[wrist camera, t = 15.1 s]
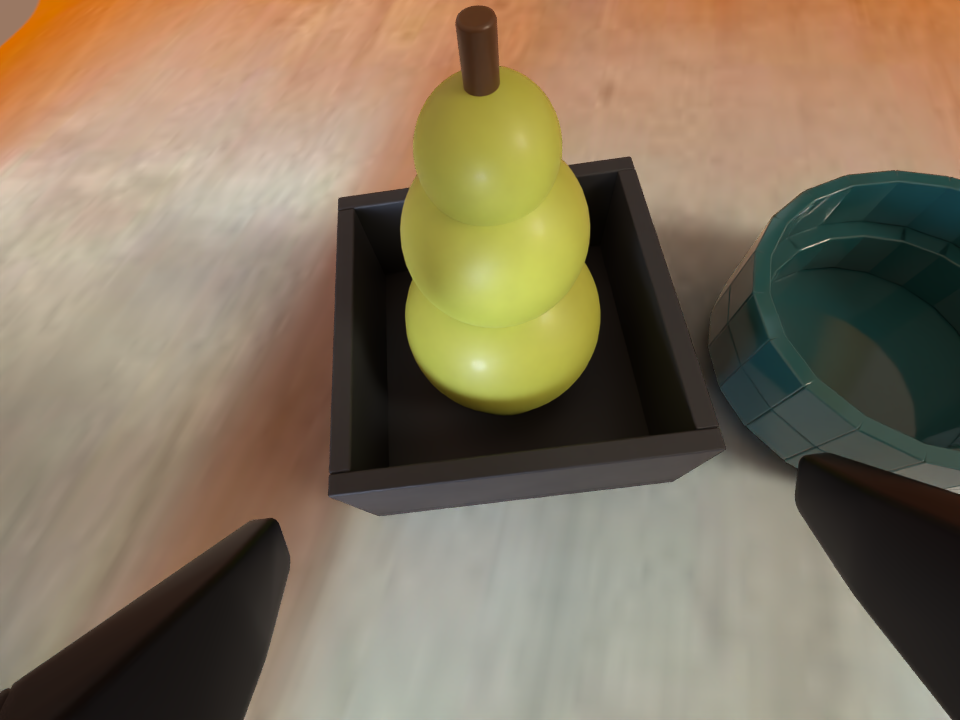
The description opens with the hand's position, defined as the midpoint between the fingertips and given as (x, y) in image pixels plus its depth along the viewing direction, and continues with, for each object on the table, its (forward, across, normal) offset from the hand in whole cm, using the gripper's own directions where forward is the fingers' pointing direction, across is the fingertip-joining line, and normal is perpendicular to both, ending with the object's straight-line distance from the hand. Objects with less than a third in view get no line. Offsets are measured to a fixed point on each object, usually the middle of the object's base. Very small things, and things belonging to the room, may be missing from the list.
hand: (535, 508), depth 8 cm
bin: (+10, 0, +1) cm, 10 cm away
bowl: (+9, -12, +2) cm, 15 cm away
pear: (+10, 0, +1) cm, 10 cm away
